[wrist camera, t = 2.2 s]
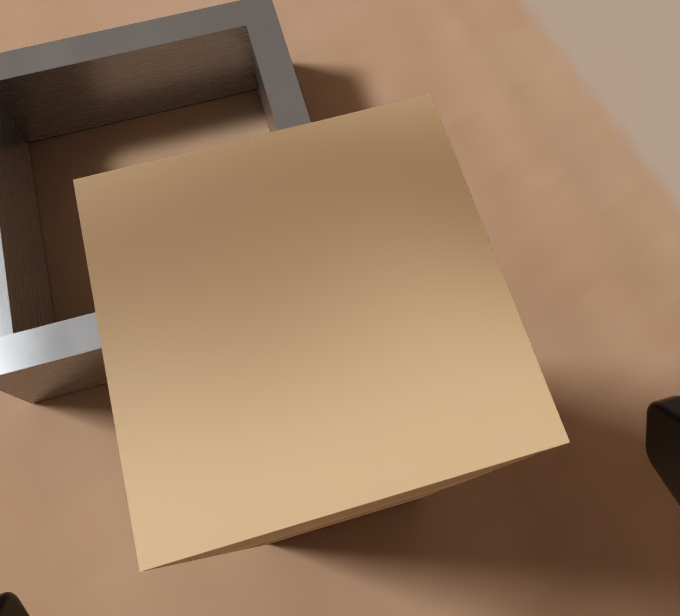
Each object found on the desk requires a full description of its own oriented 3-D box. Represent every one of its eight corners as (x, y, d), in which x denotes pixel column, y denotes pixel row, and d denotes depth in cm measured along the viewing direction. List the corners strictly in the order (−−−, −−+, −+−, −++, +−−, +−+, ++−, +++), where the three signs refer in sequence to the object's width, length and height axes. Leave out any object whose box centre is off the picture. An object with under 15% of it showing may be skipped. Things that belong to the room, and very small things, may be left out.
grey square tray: (357, 314, 20) (361, 278, 17) (31, 403, 19) (-23, 380, 16) (278, 60, 23) (270, -7, 20) (-5, 125, 22) (-56, 65, 19)
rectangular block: (423, 497, 18) (570, 441, 7) (267, 544, 18) (139, 571, 6) (376, 348, 19) (430, 94, 8) (231, 389, 19) (73, 179, 8)
